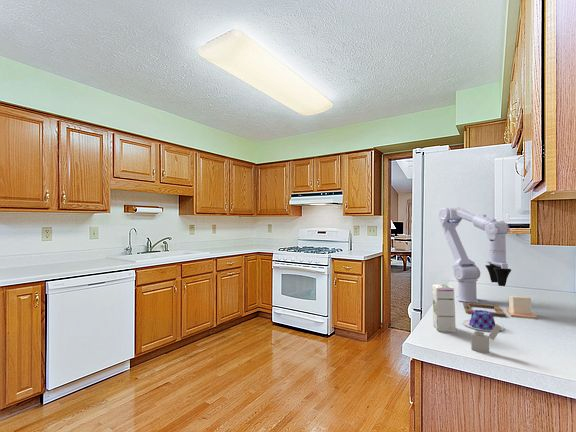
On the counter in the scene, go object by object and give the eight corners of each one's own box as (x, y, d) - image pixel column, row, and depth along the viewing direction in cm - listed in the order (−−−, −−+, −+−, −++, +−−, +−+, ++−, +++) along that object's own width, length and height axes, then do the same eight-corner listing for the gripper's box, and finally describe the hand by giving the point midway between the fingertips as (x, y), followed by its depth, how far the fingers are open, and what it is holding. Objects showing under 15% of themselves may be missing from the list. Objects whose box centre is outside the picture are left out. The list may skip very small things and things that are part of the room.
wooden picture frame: (463, 304, 136) (462, 300, 136) (498, 307, 131) (498, 303, 131) (466, 313, 124) (466, 309, 124) (505, 317, 118) (505, 312, 118)
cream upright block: (509, 311, 124) (509, 295, 124) (526, 311, 123) (525, 296, 123) (513, 313, 121) (513, 297, 121) (530, 313, 120) (530, 298, 120)
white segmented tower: (456, 332, 103) (455, 287, 103) (436, 331, 104) (436, 287, 104) (451, 326, 108) (450, 284, 109) (432, 325, 110) (431, 283, 110)
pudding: (454, 323, 113) (454, 308, 113) (482, 320, 116) (482, 306, 116) (482, 334, 101) (482, 318, 101) (512, 331, 104) (512, 315, 104)
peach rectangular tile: (505, 309, 128) (505, 308, 128) (529, 311, 125) (529, 310, 125) (511, 316, 119) (511, 314, 119) (537, 319, 116) (537, 317, 116)
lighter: (471, 349, 89) (470, 321, 89) (472, 347, 90) (471, 319, 90) (501, 355, 85) (501, 325, 85) (501, 353, 86) (501, 324, 86)
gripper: (480, 249, 137) (481, 280, 137) (492, 252, 123) (493, 287, 123) (498, 249, 135) (499, 281, 135) (513, 252, 121) (514, 287, 121)
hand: (498, 284), depth 129 cm, fingers open, 7 cm apart
